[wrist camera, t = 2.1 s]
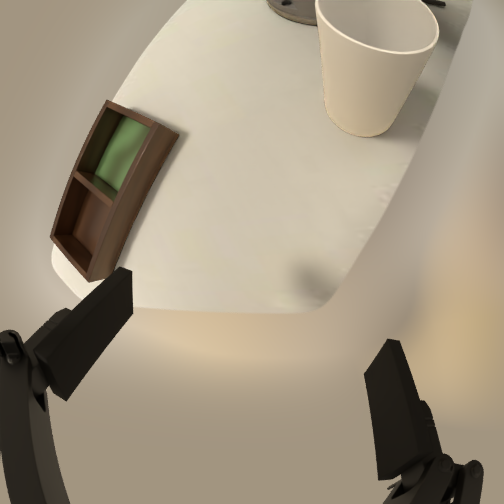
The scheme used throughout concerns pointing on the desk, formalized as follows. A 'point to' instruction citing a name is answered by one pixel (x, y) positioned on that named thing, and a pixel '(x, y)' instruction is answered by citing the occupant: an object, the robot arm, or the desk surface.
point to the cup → (372, 58)
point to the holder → (109, 188)
